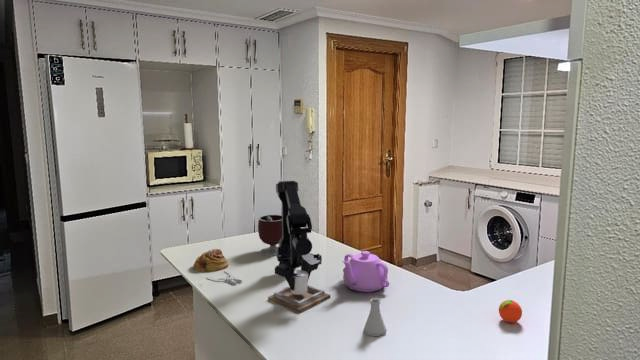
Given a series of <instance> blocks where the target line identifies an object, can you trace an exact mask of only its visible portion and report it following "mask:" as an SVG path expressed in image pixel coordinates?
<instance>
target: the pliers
mask: <svg viewBox="0 0 640 360" xmlns="http://www.w3.org/2000/svg"><path fill="white" fill-rule="evenodd" d="M223 272H224V273H225V274H227V275H226V278H223V277H221V278H212V277H208V276H207V277H206V280H209V281H212V282H217V283H218V282H220V283H221V282H222V283H224V282H225V283H229V284H231V285H234V286H236V285H237V283H238V284H239V283H240V284H242V283H243V280H242V279H241V278H238V277H234V276H235V275H234V274H233V273H232V272H230V271H227V270H224V271H223Z"/></svg>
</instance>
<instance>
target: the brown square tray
mask: <svg viewBox="0 0 640 360" xmlns="http://www.w3.org/2000/svg"><path fill="white" fill-rule="evenodd" d="M329 299H331V294H328V293H326V292H325V290H322V289H320V288H317V287H314V286H312V285H307V292H306V293H305V294H300V295H297V294H293V293H292V291H291V288H290V286H289V285H288V286H287V287H284V288H282V289H279V290H276V291H275V292H273V294H272V295H269V296H268V297H267V300H268V301H270V302H272V303H274V304H277V305H279V306H281V307H284V308H286V309H288V310H290V311H293V312H296V313H299V314H301V313H303V312H305V311H307V310H309V309H311V308H313V307H315V306H317V305H319V304H322V303H323V302H326V301H328V300H329Z"/></svg>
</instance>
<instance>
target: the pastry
mask: <svg viewBox="0 0 640 360" xmlns="http://www.w3.org/2000/svg"><path fill="white" fill-rule="evenodd" d="M228 260H229V259H227V258H226V256H225V255H224V254H223V251H222V250H221V248H214V249H210V250H207V251H205V252H203V253H202V254H201V255H199V256H197V257H196V259H195V262H194V263H193V269H194V270H195V271H197V272H201V273H203V272H220V271H223V270H225V269H227V268H228V267H229V262H228Z"/></svg>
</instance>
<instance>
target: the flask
mask: <svg viewBox="0 0 640 360" xmlns="http://www.w3.org/2000/svg"><path fill="white" fill-rule="evenodd" d="M369 301H370V311H369V314H368V317H367V320H366V322H365V324H364V328H363V332H364V333H365V334H366V335H367V336H372V337H373V336H374V337H379V336H383V335H386V334H387V327H386V325H385V322H384V320H383V316H382V313H381V309H380V304H381V300H380V299H379V298H371V299H370V300H369Z"/></svg>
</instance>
